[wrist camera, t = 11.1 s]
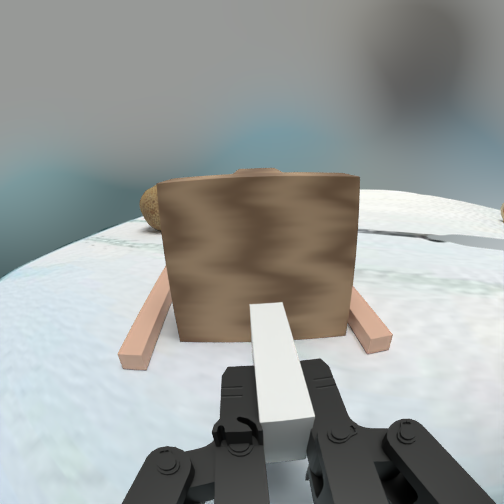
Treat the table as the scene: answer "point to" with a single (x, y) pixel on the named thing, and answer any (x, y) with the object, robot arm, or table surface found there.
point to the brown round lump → (151, 208)
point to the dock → (159, 300)
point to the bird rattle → (502, 211)
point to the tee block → (259, 250)
